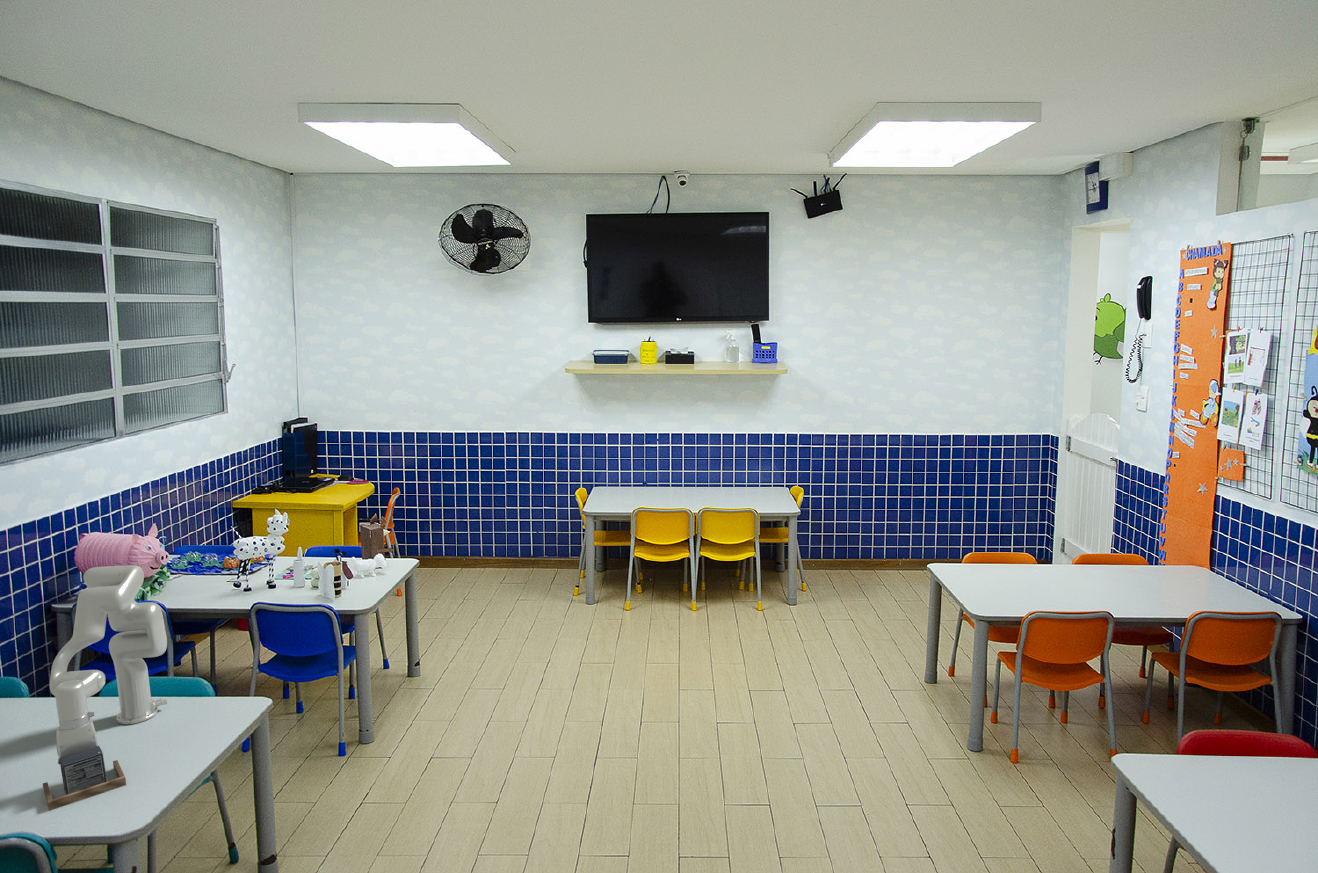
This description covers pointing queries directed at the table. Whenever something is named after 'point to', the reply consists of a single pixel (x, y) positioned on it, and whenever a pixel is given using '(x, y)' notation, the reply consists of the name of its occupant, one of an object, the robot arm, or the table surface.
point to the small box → (83, 770)
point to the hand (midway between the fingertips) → (81, 775)
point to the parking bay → (85, 790)
